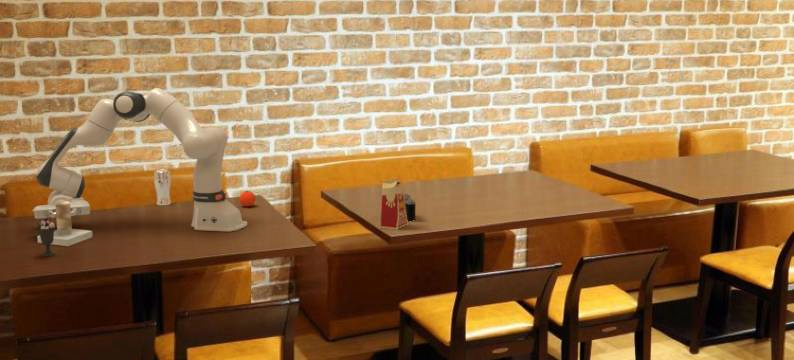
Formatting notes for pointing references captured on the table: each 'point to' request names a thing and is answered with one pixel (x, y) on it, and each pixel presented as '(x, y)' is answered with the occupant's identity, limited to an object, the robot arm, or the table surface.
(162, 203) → the beer glass
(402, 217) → the milk carton
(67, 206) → the beech block
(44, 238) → the sundae
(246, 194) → the clementine
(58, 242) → the trivet
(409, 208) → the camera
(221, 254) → the table surface
